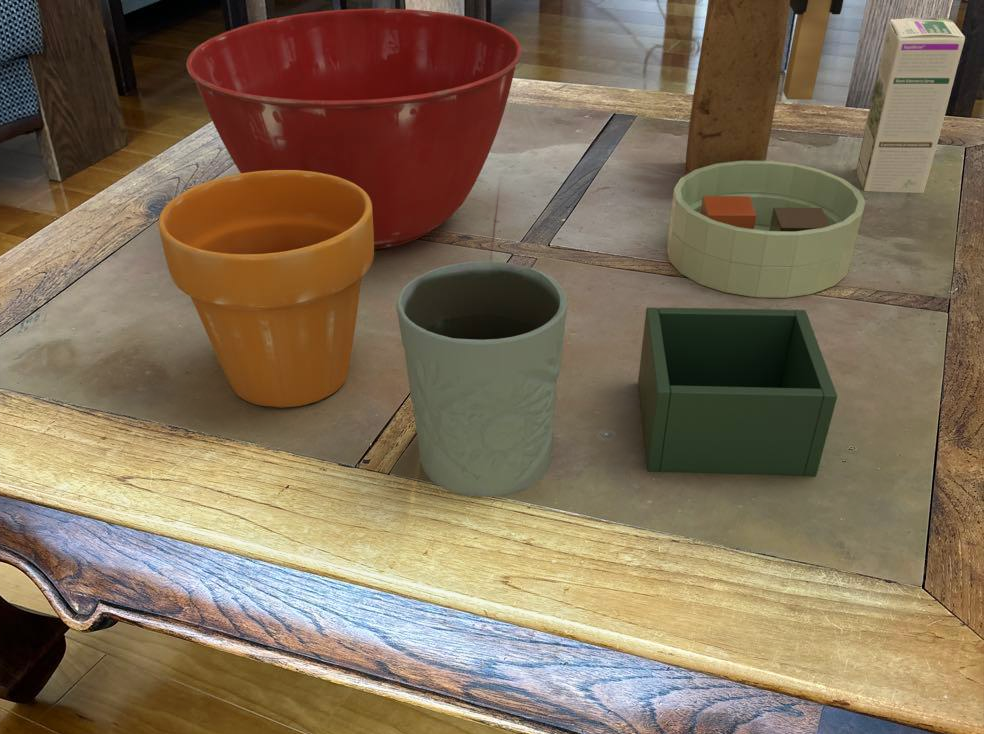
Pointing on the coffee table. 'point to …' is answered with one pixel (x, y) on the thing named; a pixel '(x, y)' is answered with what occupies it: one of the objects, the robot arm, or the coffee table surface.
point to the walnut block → (797, 219)
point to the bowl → (764, 230)
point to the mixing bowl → (364, 104)
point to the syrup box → (909, 104)
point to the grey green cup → (483, 373)
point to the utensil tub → (733, 392)
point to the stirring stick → (806, 50)
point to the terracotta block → (730, 210)
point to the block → (736, 81)
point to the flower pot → (274, 277)
